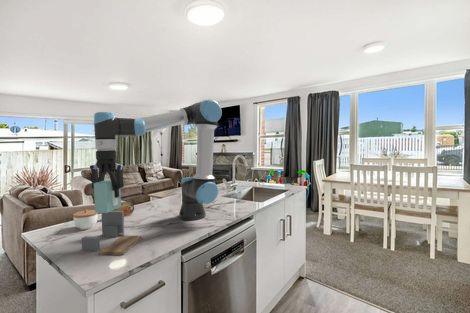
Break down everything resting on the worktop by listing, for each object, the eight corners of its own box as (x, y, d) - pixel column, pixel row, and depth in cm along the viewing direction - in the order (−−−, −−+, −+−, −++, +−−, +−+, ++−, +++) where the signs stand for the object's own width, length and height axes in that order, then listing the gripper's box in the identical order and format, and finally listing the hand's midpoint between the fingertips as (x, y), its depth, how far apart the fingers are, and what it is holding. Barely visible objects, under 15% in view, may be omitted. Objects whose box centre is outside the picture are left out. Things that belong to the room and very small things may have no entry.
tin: (108, 220, 132) (107, 205, 132) (106, 219, 134) (105, 204, 134) (134, 214, 144) (134, 200, 143) (132, 213, 146) (131, 200, 145)
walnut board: (142, 238, 106) (142, 235, 106) (122, 254, 90) (122, 251, 90) (122, 238, 107) (122, 235, 107) (100, 254, 91) (100, 251, 91)
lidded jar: (87, 223, 128) (86, 206, 128) (103, 225, 125) (102, 207, 125) (68, 230, 118) (67, 211, 118) (85, 232, 115) (84, 213, 115)
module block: (121, 206, 105) (119, 179, 104) (107, 212, 95) (105, 183, 95) (110, 206, 106) (109, 179, 105) (95, 212, 96) (93, 183, 95)
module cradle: (124, 234, 111) (123, 211, 111) (101, 250, 94) (100, 223, 94) (104, 234, 112) (103, 211, 111) (77, 250, 95) (75, 223, 94)
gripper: (79, 150, 96) (82, 207, 97) (121, 149, 95) (124, 207, 96) (91, 150, 104) (94, 203, 105) (131, 149, 102) (133, 203, 103)
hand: (108, 205), depth 100 cm, fingers closed on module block, 5 cm apart
